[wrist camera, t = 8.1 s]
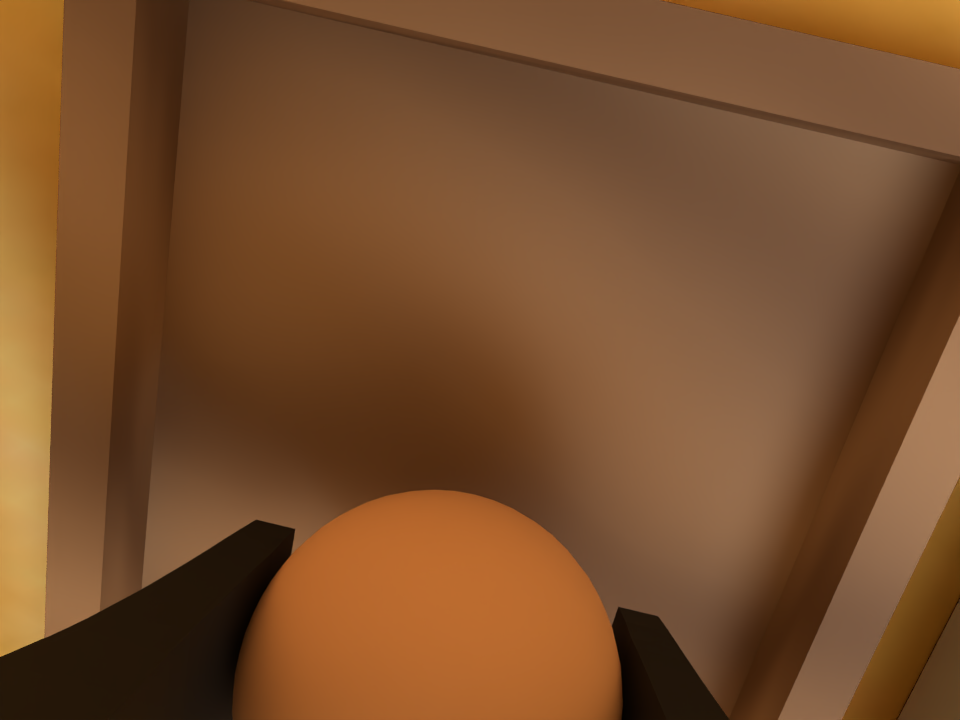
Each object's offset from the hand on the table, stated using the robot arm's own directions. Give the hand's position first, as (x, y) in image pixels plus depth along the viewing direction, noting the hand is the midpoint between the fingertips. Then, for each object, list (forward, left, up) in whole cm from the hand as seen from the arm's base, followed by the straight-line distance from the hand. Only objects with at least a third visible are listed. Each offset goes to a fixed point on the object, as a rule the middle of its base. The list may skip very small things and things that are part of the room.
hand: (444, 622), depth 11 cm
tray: (0, 0, -3) cm, 3 cm away
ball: (0, 0, +1) cm, 1 cm away
